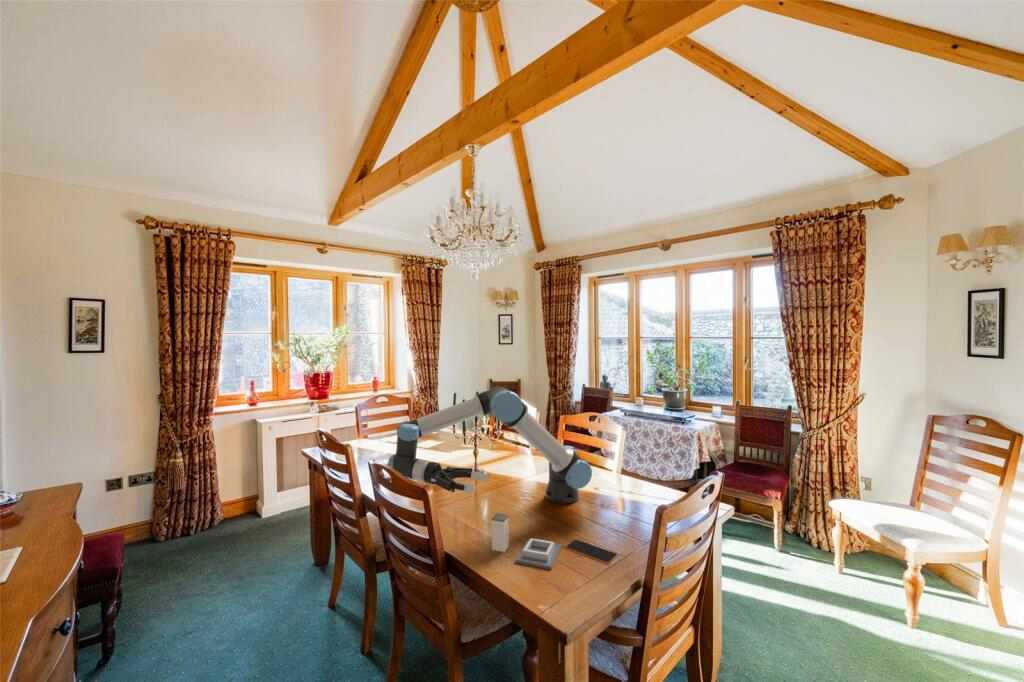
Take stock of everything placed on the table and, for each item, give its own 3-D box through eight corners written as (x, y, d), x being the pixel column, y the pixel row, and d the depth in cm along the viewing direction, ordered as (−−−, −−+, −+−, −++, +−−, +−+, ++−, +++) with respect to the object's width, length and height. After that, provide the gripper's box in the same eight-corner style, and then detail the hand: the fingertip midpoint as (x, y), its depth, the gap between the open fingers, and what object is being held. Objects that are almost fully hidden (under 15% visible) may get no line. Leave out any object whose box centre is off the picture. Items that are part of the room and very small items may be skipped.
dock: (528, 542, 149) (528, 533, 149) (561, 547, 145) (561, 539, 144) (515, 562, 136) (515, 553, 136) (550, 569, 131) (550, 560, 131)
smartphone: (575, 540, 150) (575, 538, 150) (618, 556, 140) (618, 553, 140) (563, 549, 144) (563, 546, 144) (608, 566, 134) (608, 563, 134)
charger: (496, 543, 148) (496, 513, 148) (508, 545, 146) (508, 514, 146) (491, 550, 144) (491, 518, 143) (504, 552, 142) (503, 520, 142)
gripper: (441, 473, 165) (491, 483, 159) (408, 492, 142) (466, 505, 135) (443, 454, 166) (493, 464, 159) (411, 470, 142) (468, 482, 136)
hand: (481, 483), depth 147 cm, fingers open, 13 cm apart
